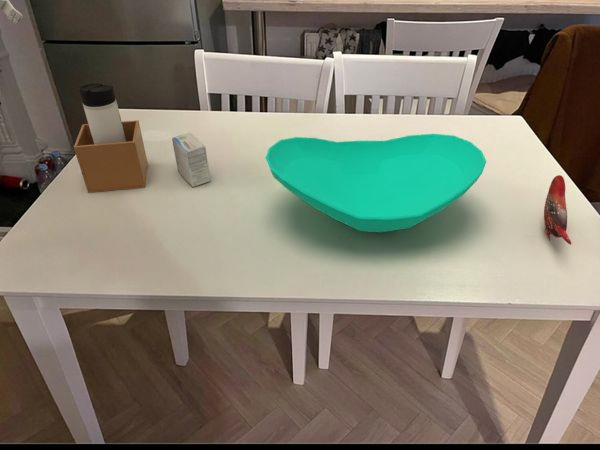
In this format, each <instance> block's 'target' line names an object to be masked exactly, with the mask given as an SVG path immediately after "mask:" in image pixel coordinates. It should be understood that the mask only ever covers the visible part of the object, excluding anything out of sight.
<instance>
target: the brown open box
mask: <svg viewBox="0 0 600 450" xmlns="http://www.w3.org/2000/svg"><path fill="white" fill-rule="evenodd" d="M122 126H123V130H124V134H125V138H126V142H119V143H107V144H94V141H93V138H92V134H91V131H90V128H89V124H88V123H86V124H85V123H84V124H82V125H81V127H80V130H79V132H78V135H77V138H76V139H75V143H74V145H73V150H74V152H75V156H76V159H77V162H78V165H79V168H80V172H81V174H82V178H83V181H84V184H85V188H86V190H87V193H88V194H90V192H92V193H100V192H101V193H102V192H111V191H120V190H130V189H131V190H133V189H141V188H146V185H147V183H146V182H147V175H148V174H147V173H148V167H149V166H148V165H149V162H148V157H147V153H146V148H145V144H144V143H145V142H144V139H143V134H142V129H141V124H140V121H139V120H138V119H137V120H125V121H123V120H122Z"/></svg>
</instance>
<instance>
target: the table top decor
mask: <svg viewBox="0 0 600 450" xmlns="http://www.w3.org/2000/svg"><path fill="white" fill-rule="evenodd" d="M265 160H266V163H267V165H268V167H269V170H270V172H271V175H272V177H273V178H274V179H275V180H276V181H277V182H278V183H280V184H281V185H282V186H283V187H284V188H285V189H287V191H289V192H291V194H293V195H294V196H296V197H297V198H298V199H301V200H302V201H303V202H305V203H307V204H308V205H309V206H311V207H312V208H315V209H316V210H318V211H320V212H321V213H323V214H325V215H326V216H329V217H330V218H332V219H333V220H335V221H338V222H340V223H342V224H344V225H346V226H349V227H350V228H352V229H355V230H357V231H359V232H369V233H386V232H392V231H399V230H400V231H401V230H406V229H410V228H412V227H414V226H416V225H418V224H420V223H421V222H423V221H425V220H427V219H429V218H430V217H432V216H434V215H436V214H438V213H439V212H441V211H443V210H445V209H446V208H447V207H449V206H450V205H452V204H453V203H454V202H456V201H457V200H458V199H460V198H462V197H463V196H464V195H465V194H466V193H467V192H468V191H469V190H470V189H471V188H472V186H473V185H474V184H476V182H477V181H478V180H479V178H481V176H482V174H483V173H484V170H485V167H486V164H487V160H486V158H485V155H484V153H483V150H481V149H480V148H479V147H477V146H476V145H475V144H474V143H473V142H471V141H469V140H467V139H464V138H462V137H459V136H458V135H457V136H456V135H454V134H453V135H451V134H441V133H425V134H422V133H421V134H411V135H405V136H400V137H396V138H391V139H386V140H347V141H346V140H345V141H344V140H343V141H334V140H328V139H323V138H317V137H304V136H302V137H301V136H294V137H289V138H283V139H279V140H278V141H277V142H275V143H274V144H273V145H271V146H269V148H268V149H267V152H266V156H265Z"/></svg>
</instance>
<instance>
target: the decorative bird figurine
mask: <svg viewBox="0 0 600 450" xmlns="http://www.w3.org/2000/svg"><path fill="white" fill-rule="evenodd" d="M543 209H544V210H543V220H544V221H543V222H544V232H545V234H546V236H547V239H548V241H549V242H550V241H551V236H553V237H555V238H562V239H563V240H564V241H565V242H566V243H567V244H568V245H572V241H571V238H570V237H569V235H568V232H567V229H568V210H567V202H566V181H565V178H564V176H563V175H560V174H558V175H556V176H554V177H553V179H552V181H551V183H550V185H549V187H548V192H547V195H546V198H545V202H544V208H543Z"/></svg>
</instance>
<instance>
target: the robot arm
mask: <svg viewBox="0 0 600 450" xmlns="http://www.w3.org/2000/svg"><path fill="white" fill-rule="evenodd" d="M0 10H1V11H2V12H3V13H4V14H5V15H6V19H8V20H9V21H10V22H12V24H16V25H17V24H18V23H20V22H22V20H23V18H24V17H23V14H22V13H21V12H20V11H18V10H17V9H16V8H15V7H14V5H13V4H12V3H11V1H10V0H0Z"/></svg>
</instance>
